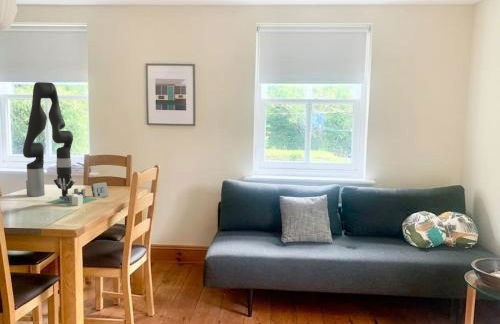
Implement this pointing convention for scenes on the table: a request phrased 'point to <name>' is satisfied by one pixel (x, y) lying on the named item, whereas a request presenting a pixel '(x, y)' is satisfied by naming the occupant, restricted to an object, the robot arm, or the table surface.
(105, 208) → the table surface
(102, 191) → the electrical switch
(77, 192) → the thin grey panel
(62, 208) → the table surface
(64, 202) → the board
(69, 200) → the white slotted block
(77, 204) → the latch
